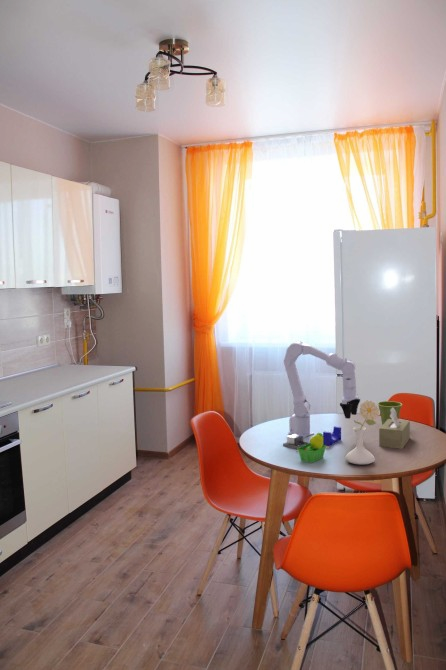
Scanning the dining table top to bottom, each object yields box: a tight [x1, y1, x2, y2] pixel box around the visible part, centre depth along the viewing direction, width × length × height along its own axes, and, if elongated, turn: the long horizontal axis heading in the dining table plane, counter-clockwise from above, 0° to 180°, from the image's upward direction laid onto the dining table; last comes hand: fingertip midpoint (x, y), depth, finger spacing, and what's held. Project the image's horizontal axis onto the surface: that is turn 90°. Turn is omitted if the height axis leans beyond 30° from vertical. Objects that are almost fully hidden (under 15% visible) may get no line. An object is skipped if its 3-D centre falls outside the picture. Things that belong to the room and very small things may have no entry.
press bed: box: [282, 440, 331, 453], centre depth 240 cm, size 17×15×1 cm
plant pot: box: [376, 400, 403, 426], centre depth 270 cm, size 12×12×11 cm
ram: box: [286, 434, 304, 447], centre depth 243 cm, size 5×6×4 cm
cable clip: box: [322, 425, 342, 447], centre depth 245 cm, size 12×4×6 cm, turn 143°
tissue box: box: [378, 408, 411, 450], centre depth 243 cm, size 19×10×16 cm, turn 152°
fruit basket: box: [297, 432, 327, 464], centre depth 222 cm, size 11×9×11 cm
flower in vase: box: [344, 400, 380, 465], centre depth 216 cm, size 13×11×25 cm
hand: (350, 416), depth 252 cm, fingers open, 7 cm apart
